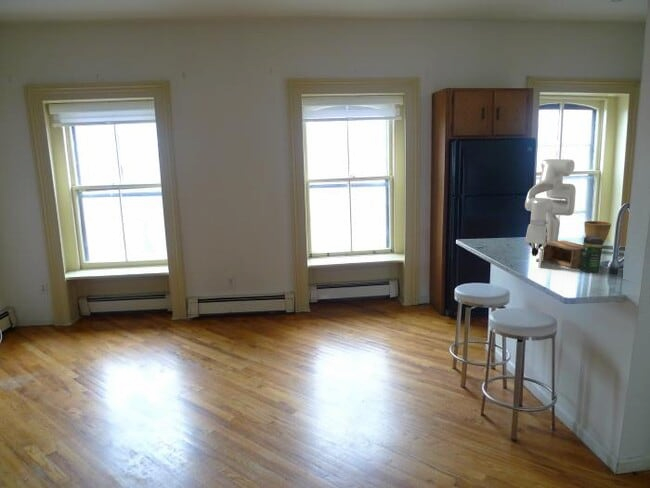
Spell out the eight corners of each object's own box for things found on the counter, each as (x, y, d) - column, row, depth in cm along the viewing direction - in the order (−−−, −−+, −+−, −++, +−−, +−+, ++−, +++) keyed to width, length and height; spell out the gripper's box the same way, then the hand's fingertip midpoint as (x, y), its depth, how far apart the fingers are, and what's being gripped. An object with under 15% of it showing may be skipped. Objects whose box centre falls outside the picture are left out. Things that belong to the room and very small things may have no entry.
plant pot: (598, 244, 293) (601, 220, 289) (613, 249, 278) (616, 224, 275) (576, 244, 293) (579, 220, 289) (590, 249, 278) (593, 224, 275)
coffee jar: (601, 273, 225) (606, 238, 221) (584, 272, 227) (588, 237, 223) (594, 268, 235) (598, 234, 231) (578, 267, 236) (582, 234, 232)
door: (542, 259, 253) (544, 244, 251) (540, 267, 237) (542, 251, 235) (537, 258, 254) (539, 243, 252) (535, 266, 238) (537, 250, 236)
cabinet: (561, 257, 257) (563, 240, 255) (591, 266, 239) (593, 247, 237) (542, 259, 253) (544, 242, 251) (571, 268, 235) (573, 249, 232)
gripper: (554, 223, 234) (551, 256, 238) (525, 220, 244) (523, 252, 248) (550, 225, 229) (547, 259, 233) (521, 222, 239) (518, 254, 243)
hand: (534, 255), depth 241 cm, fingers closed
